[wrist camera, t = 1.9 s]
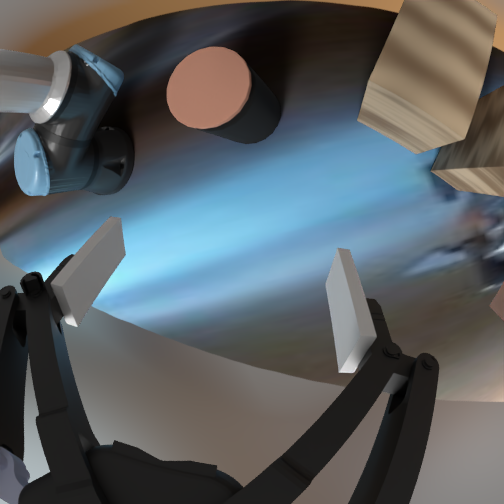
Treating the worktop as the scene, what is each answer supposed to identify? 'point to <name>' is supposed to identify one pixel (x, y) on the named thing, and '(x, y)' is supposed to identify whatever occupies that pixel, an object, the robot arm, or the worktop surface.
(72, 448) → the robot arm
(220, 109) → the coffee jar
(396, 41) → the oak stand
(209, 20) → the worktop surface
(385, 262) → the worktop surface
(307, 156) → the worktop surface
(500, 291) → the bar
